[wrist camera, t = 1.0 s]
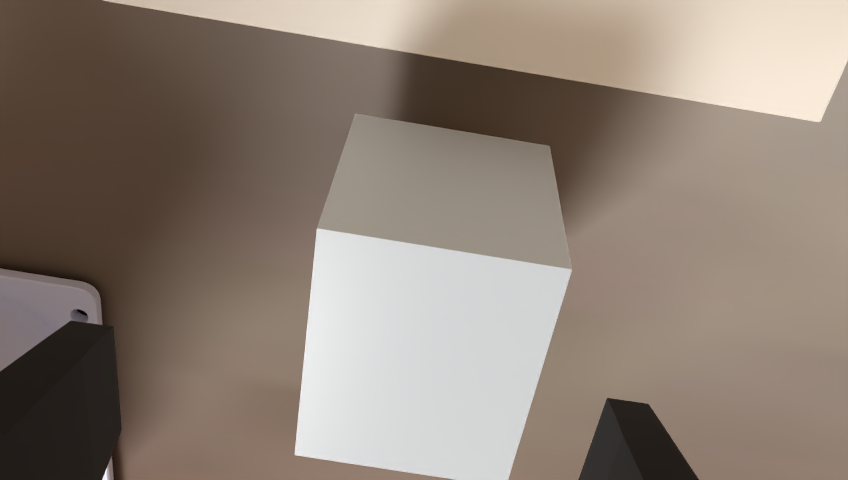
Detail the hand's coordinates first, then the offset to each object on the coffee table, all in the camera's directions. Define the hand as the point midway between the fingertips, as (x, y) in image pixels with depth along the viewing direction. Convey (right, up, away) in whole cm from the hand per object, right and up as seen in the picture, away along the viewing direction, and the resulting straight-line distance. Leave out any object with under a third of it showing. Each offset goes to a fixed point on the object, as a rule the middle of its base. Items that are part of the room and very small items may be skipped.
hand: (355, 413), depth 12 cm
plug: (+1, +4, +9) cm, 10 cm away
